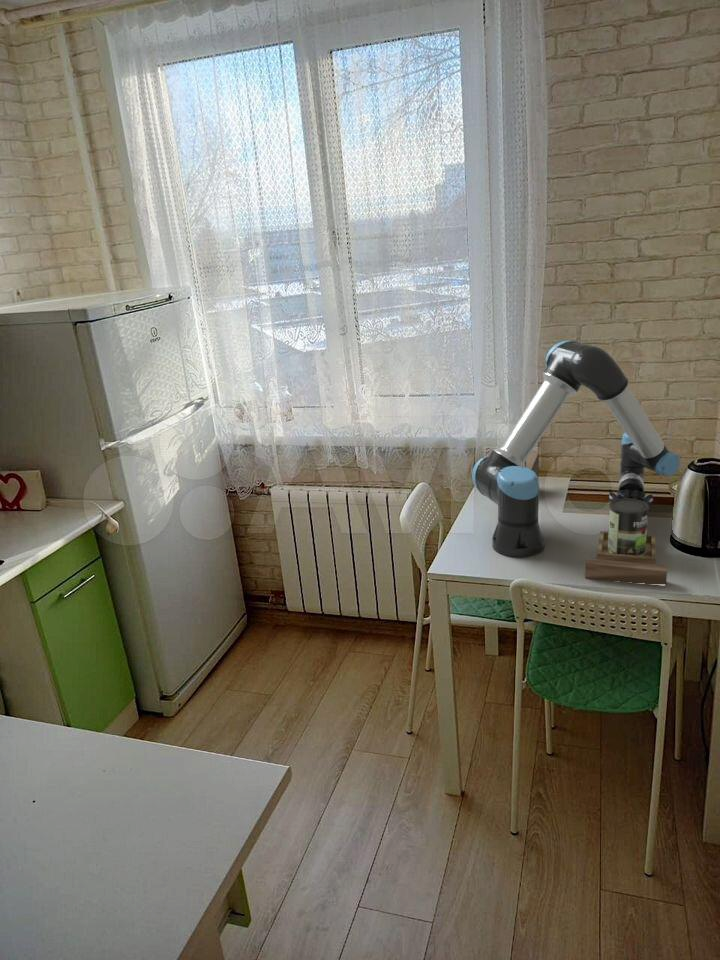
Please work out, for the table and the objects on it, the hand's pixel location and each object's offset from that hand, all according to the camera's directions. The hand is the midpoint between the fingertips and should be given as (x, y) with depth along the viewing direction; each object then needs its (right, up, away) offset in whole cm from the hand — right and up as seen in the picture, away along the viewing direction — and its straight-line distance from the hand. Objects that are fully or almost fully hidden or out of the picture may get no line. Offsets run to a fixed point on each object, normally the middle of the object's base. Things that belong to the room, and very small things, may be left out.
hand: (629, 518), depth 206 cm
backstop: (-8, -16, -17) cm, 24 cm away
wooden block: (-20, +6, +44) cm, 49 cm away
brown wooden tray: (-2, -10, -3) cm, 11 cm away
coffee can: (-2, -9, -3) cm, 10 cm away
